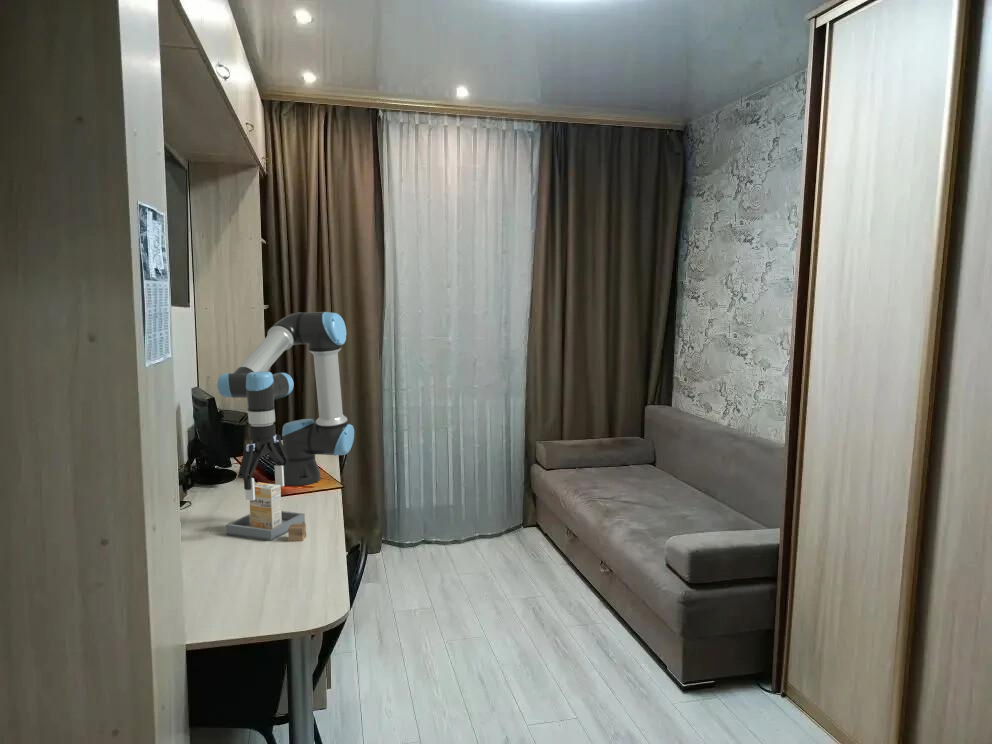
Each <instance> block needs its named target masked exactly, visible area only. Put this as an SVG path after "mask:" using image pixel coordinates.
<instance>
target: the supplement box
mask: <svg viewBox="0 0 992 744" xmlns="http://www.w3.org/2000/svg"><path fill="white" fill-rule="evenodd" d="M254 487H255V500H249V514H250V524H251V527H256V528H263V529H272V528H274V527H276V526H278V525H280V524H282V517H281V511H282V493H281V492H282V491H281V485H275V483H269V482H267V483H266V482H260V481H258V482H256V483H255V482H254Z"/></svg>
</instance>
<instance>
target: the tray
mask: <svg viewBox="0 0 992 744" xmlns="http://www.w3.org/2000/svg"><path fill="white" fill-rule="evenodd" d="M281 517H282V524H280V525H278V526H276V527H274V528H272V529H263V528H256V527H251V524H250V513H248V514H247V515H244V516H242V517H240V518H238V519H236V520H233V521H231V522H229V523H227V524H225V532H226V533H225V534H226V536H233V537H239V538H240V537H241V538H248V539H255V540H262V541H269V542H272V541H274V540H277V539H278V538H280V537H282V536H284V535H286V534H287V533H288V528H289V527H290V526H291V524H299V523H305V513H301V512H292V511H286V510H281Z"/></svg>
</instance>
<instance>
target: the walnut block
mask: <svg viewBox="0 0 992 744" xmlns="http://www.w3.org/2000/svg"><path fill="white" fill-rule="evenodd" d="M287 533H288V542H304V540H305V539H306V537H307V523H299V524H291V526H290V527H289V528H288V532H287Z"/></svg>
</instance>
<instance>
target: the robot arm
mask: <svg viewBox="0 0 992 744" xmlns="http://www.w3.org/2000/svg"><path fill="white" fill-rule="evenodd" d="M266 335H267V336H266V337H265V338H264V339H263V340H262V341H261V342H260V344H259V345H258V346H257V347H255V349H254V350H253V351H252V352H251V353H250V354H249V355H248V356H247V357H246V358H245V360H244V361H243V362H242V363H241V364H240V365H239V366H238V367H237V368H236V370H235V371H234V372H233V373H232V372H226V373H222V374H220V376H219V377H218V378H217V379H218V380H217V384H216V386H217V391H218V393H219V394H220V396H222V397H224V398H232V399H236V398H238V399H239V398H240V399H241V398H243V399H245V398H246V399H247V400H246V402H247V417H248V419H247V420H248V424H249V425H248V437H249V438H250V439H251V443H250V444H247V443H245V444H244V445H243V455H242V458H241V463H240V466H239V470H238V474H237V478H238V479H243V488H244V490H245V500H247V501H250V500H255V487H254V484H255V478H254V477H253V475H254V474H255V471H256V468H257V466H258V465H259V462H260V459H262V458H263V456H265V455H267V454H268V455H269V456H270V458H271V459H272V460H273V462H274V463H275V465H274V467H273V468H274V479H275V480H274V484H275V485H281V487H285V486H290V487H291V486H293V487H294V486H295V487H297V486H306V485H311V483H312V484H315V483H317V481H318V482H319V481H321V480H322V479H321V478H322V476H321V471H320V468H319V466H318V463H317V460H316V455H318V456H319V455H320V456H321V455H322V456H323V455H325V456H335V457H336V456H346V455H347V454H348V453H349V452H350V451H351V449H352V447H353V444H354V441H355V428H354V425H352V424H350V423H348V417H347V416H346V415H344V414H343V401H342V387H341V377H340V365H339V354H338V353H339V352H340V351H341V350H342V345H344V344H345V342H346V341H347V327H346V324H345V321H344V319H343V317H342V316H341V315H340V314H338V313H337V312H329V311H320V312H319V311H314V312H313V311H309V312H304V311H302V312H301V311H300V312H299V311H298V312H294V313H291V314H289V315H286V316H285V317H283V318H281V319H280V320H278V321H277V322H275V323H274V324H273V325H272V326H271V327H270V328H269V329H268V330H267V334H266ZM297 345H307V346H308V352H309V353H311V354H312V355H313V363H314V365H313V366H314V374H315V376H314V377H315V383H316V395H317V397H316V398H317V407H318V418H317V419H315V420H314V418H303V419H302V418H301V419H298V420H292V421H288V422H286V423H284V424H283V426H282V431H281V432H282V433H281V435H280V434H277V433H276V424H275V423H276V412H275V400H278V399H281V398H285V397H287V396H288V395H290V394H291V393H292V392H293V390H294V384H295V383H294V380H293V378H292V376H291V375H289V374H288V373H286V372H276V373H274V374H273V373H272V372H271V371H268V370H269V369H270V368H271V367H272V365H274V363H275V362H276V361H277V360H278V359H279V358H280V357H281V356H282V354H283V353H284V352H285V351H287V350H290V349H291V348H292V347H293V346H297ZM281 437H282V438H281Z"/></svg>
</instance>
